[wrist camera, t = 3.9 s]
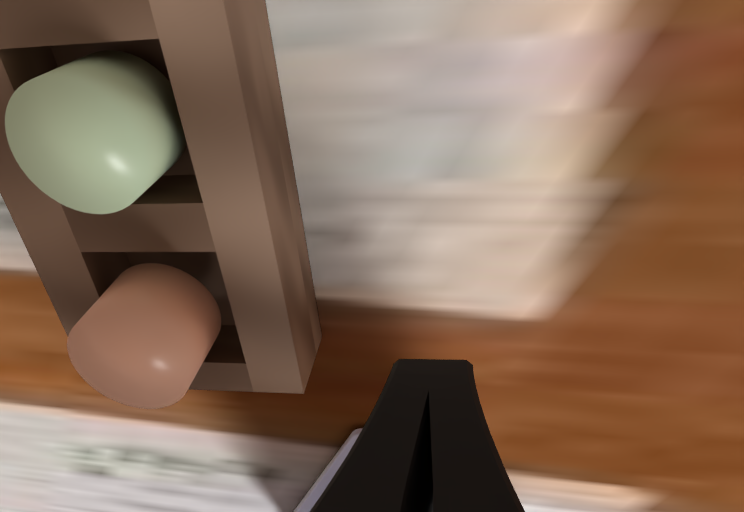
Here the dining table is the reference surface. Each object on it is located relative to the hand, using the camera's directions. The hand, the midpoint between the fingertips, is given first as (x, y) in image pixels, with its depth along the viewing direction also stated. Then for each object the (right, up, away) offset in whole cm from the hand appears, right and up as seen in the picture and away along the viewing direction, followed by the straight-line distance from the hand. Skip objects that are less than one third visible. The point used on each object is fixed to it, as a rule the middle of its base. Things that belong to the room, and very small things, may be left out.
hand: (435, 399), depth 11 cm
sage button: (-8, +7, +6) cm, 12 cm away
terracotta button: (-8, +1, +8) cm, 11 cm away
